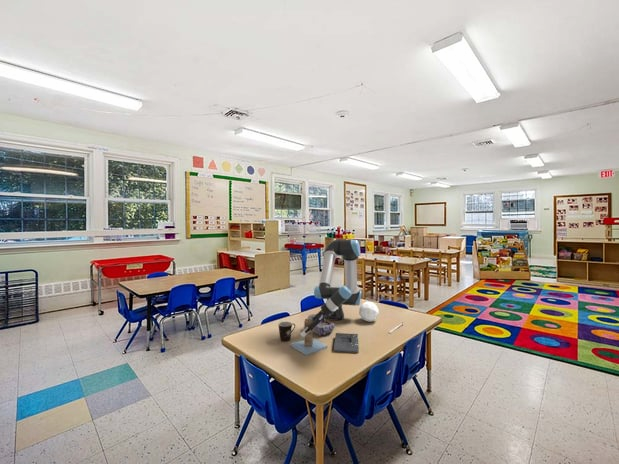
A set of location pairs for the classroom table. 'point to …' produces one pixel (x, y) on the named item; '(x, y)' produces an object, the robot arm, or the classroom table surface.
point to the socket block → (346, 343)
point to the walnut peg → (309, 337)
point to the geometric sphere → (368, 311)
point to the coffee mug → (285, 330)
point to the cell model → (322, 326)
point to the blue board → (308, 350)
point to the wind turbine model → (395, 328)
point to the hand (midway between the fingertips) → (303, 332)
